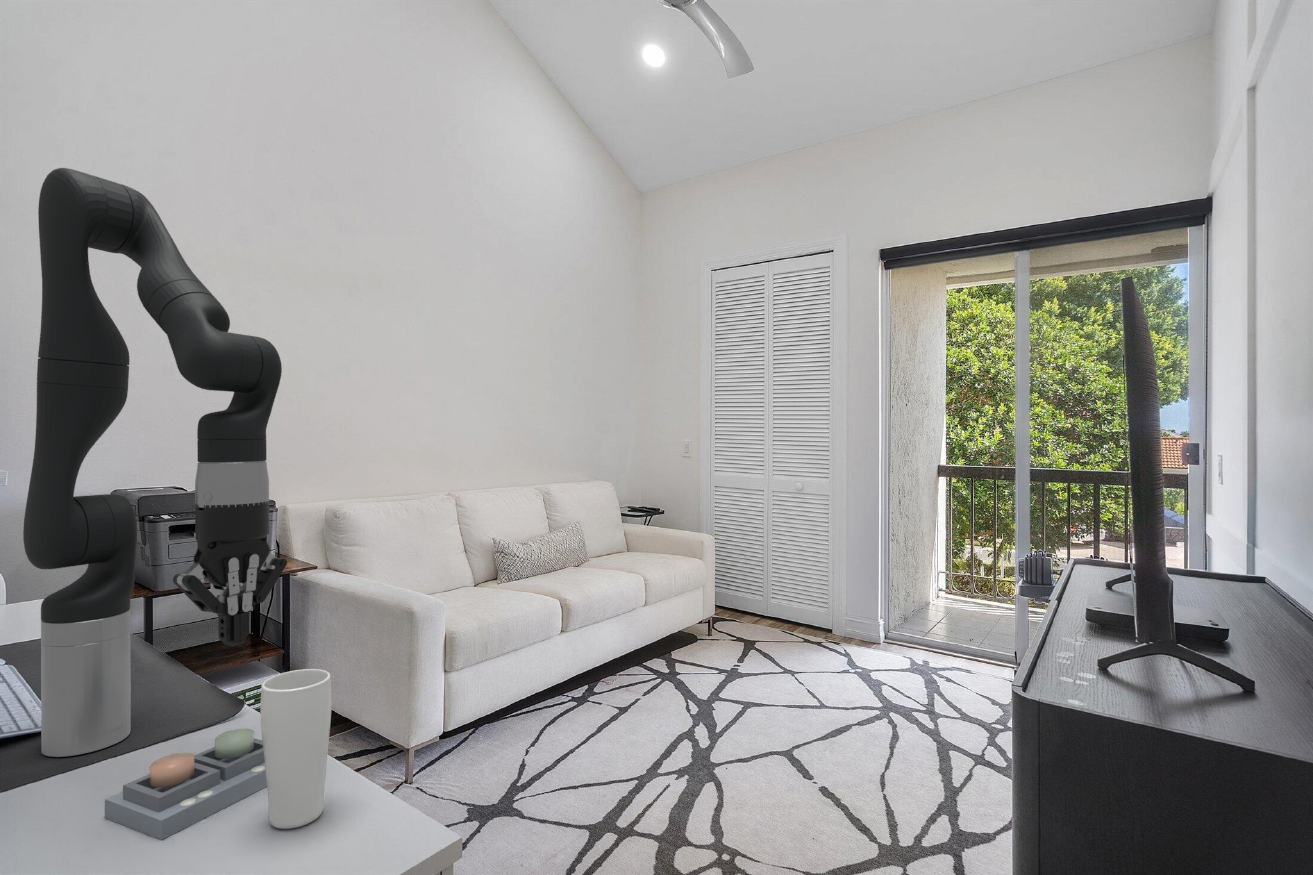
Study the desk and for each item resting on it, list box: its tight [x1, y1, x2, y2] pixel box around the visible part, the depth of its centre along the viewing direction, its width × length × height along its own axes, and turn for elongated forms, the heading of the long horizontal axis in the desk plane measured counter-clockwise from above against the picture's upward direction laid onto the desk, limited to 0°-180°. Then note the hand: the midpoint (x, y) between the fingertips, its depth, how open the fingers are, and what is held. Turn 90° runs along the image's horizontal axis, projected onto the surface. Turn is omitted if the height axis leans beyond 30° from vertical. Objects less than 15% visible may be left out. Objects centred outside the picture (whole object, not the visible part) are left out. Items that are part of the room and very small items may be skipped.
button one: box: [214, 728, 255, 759], centre depth 81 cm, size 4×4×2 cm
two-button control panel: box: [104, 737, 267, 841], centre depth 78 cm, size 10×15×4 cm, turn 156°
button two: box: [149, 752, 194, 787], centre depth 75 cm, size 4×4×2 cm
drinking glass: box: [260, 668, 332, 830], centre depth 73 cm, size 7×7×15 cm
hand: (233, 643), depth 81 cm, fingers closed
